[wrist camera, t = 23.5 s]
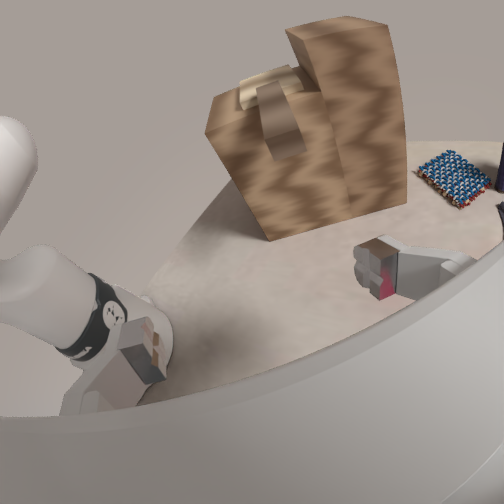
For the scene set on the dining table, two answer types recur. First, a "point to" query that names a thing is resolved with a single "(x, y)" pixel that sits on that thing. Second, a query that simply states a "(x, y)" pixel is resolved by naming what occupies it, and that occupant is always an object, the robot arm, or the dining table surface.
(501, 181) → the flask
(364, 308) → the dining table surface
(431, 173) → the woven mat
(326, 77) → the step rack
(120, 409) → the robot arm
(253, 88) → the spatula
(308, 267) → the dining table surface
